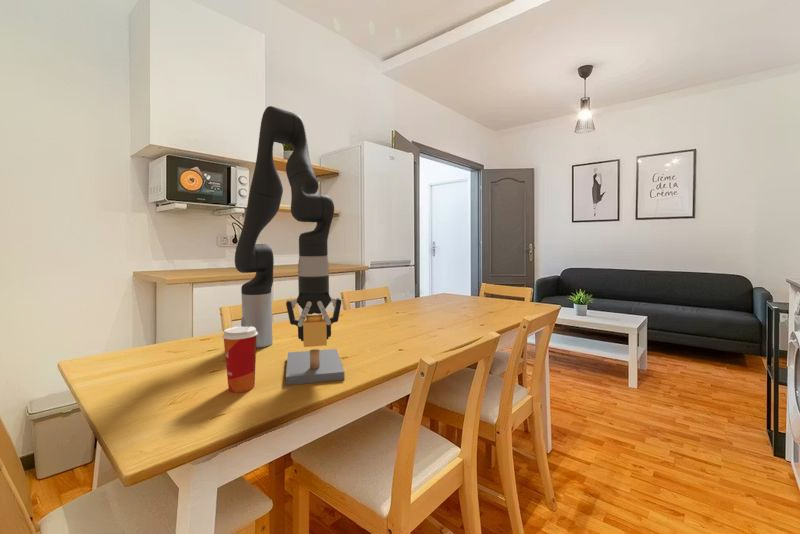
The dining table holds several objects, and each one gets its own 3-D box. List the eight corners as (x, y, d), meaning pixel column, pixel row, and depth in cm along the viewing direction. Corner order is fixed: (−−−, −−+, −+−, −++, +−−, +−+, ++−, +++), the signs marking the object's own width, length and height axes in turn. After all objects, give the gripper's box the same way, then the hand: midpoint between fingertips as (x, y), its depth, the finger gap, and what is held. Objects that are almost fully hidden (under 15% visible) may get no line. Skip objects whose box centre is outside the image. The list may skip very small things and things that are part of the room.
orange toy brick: (303, 347, 91) (303, 318, 90) (303, 341, 96) (302, 313, 96) (326, 345, 93) (326, 317, 92) (325, 339, 98) (324, 312, 97)
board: (285, 385, 88) (285, 358, 88) (288, 359, 108) (287, 337, 107) (344, 379, 92) (344, 354, 92) (336, 355, 111) (336, 334, 111)
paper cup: (233, 381, 91) (231, 325, 90) (264, 381, 91) (263, 325, 89) (216, 394, 83) (214, 333, 82) (250, 395, 83) (248, 333, 82)
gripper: (340, 272, 99) (341, 334, 100) (284, 273, 95) (285, 337, 96) (344, 274, 91) (344, 341, 93) (283, 275, 88) (284, 345, 89)
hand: (314, 339), depth 94 cm, fingers closed on orange toy brick, 5 cm apart
